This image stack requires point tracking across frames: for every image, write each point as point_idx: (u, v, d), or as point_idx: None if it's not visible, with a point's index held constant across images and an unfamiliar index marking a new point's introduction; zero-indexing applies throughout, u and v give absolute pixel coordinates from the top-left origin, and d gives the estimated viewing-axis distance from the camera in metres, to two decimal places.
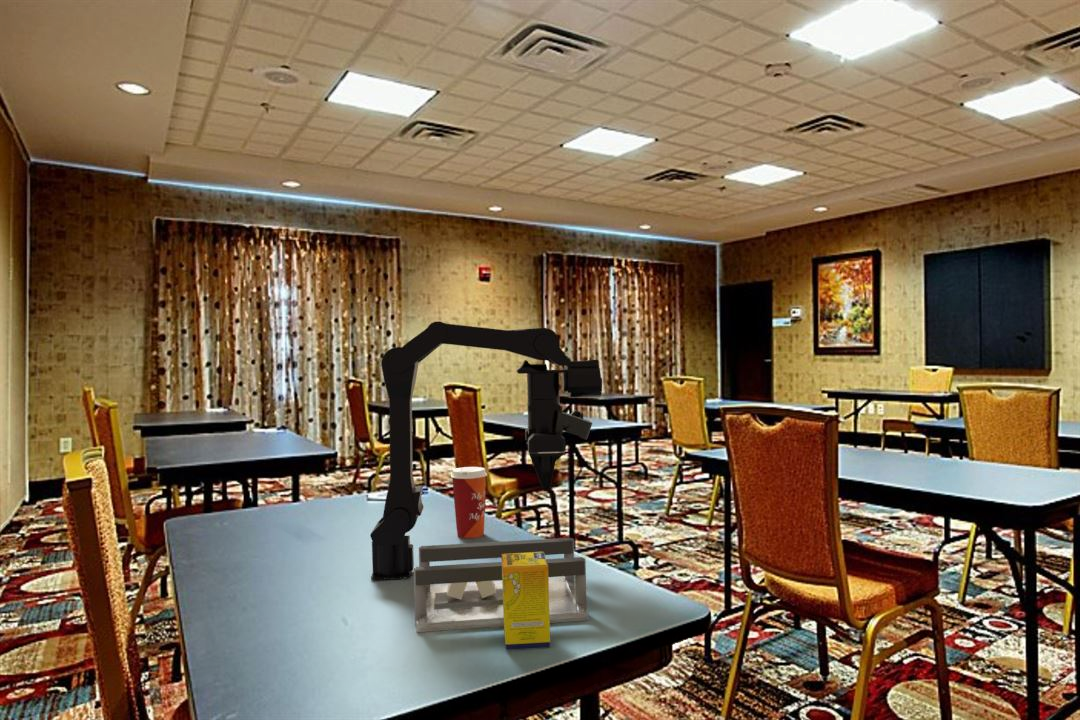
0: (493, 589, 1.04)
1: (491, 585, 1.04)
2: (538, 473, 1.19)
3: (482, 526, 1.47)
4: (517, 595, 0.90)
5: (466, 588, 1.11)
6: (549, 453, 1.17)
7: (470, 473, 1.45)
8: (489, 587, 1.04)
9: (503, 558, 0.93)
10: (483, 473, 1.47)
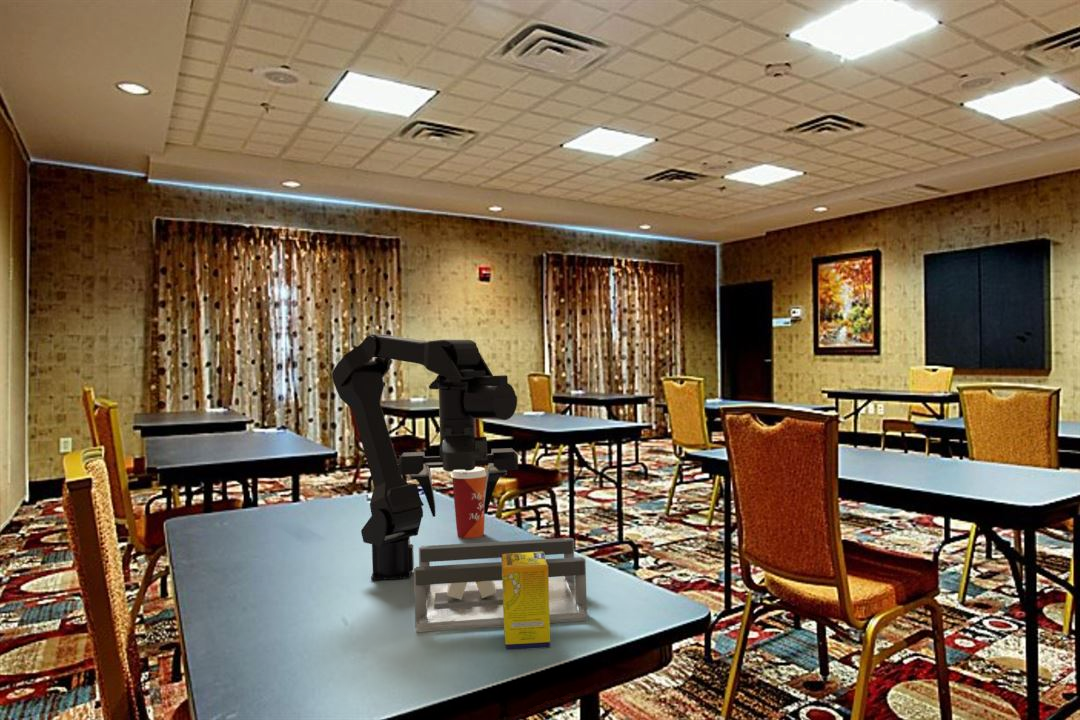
0: (493, 589, 1.04)
1: (491, 585, 1.04)
2: None
3: (482, 526, 1.47)
4: (517, 595, 0.90)
5: (466, 588, 1.11)
6: None
7: (470, 473, 1.45)
8: (489, 587, 1.04)
9: (503, 558, 0.93)
10: (483, 473, 1.47)
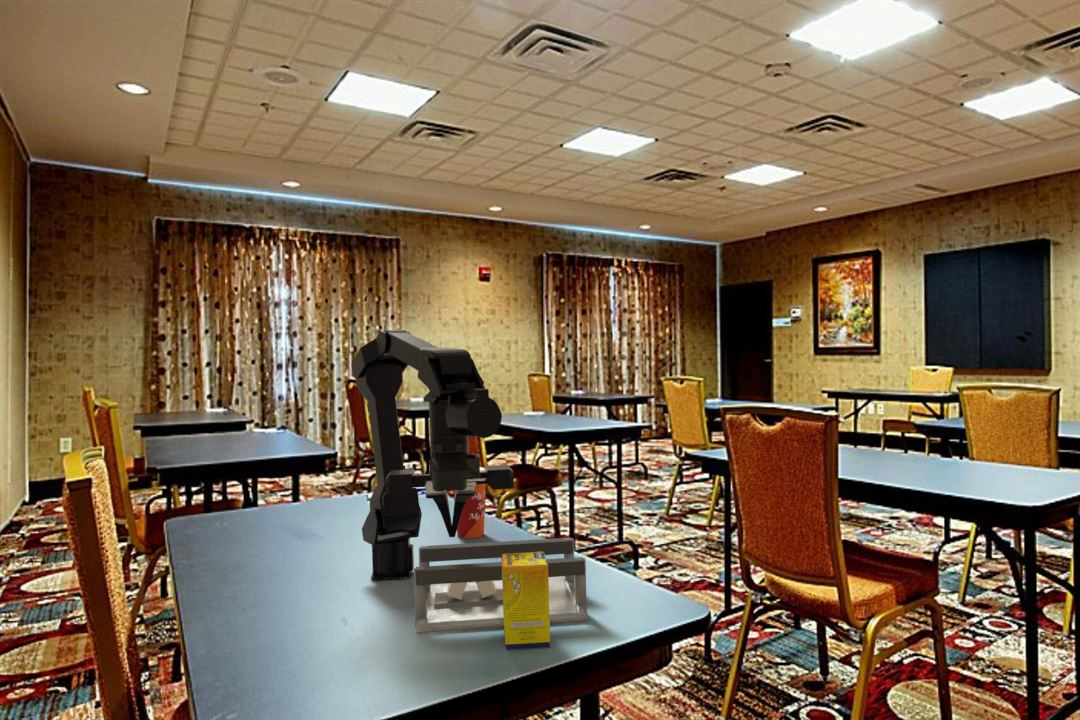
0: (493, 589, 1.04)
1: (491, 585, 1.04)
2: None
3: (482, 526, 1.47)
4: (517, 594, 0.90)
5: (466, 588, 1.11)
6: (426, 492, 1.04)
7: None
8: (489, 587, 1.04)
9: (503, 558, 0.93)
10: None
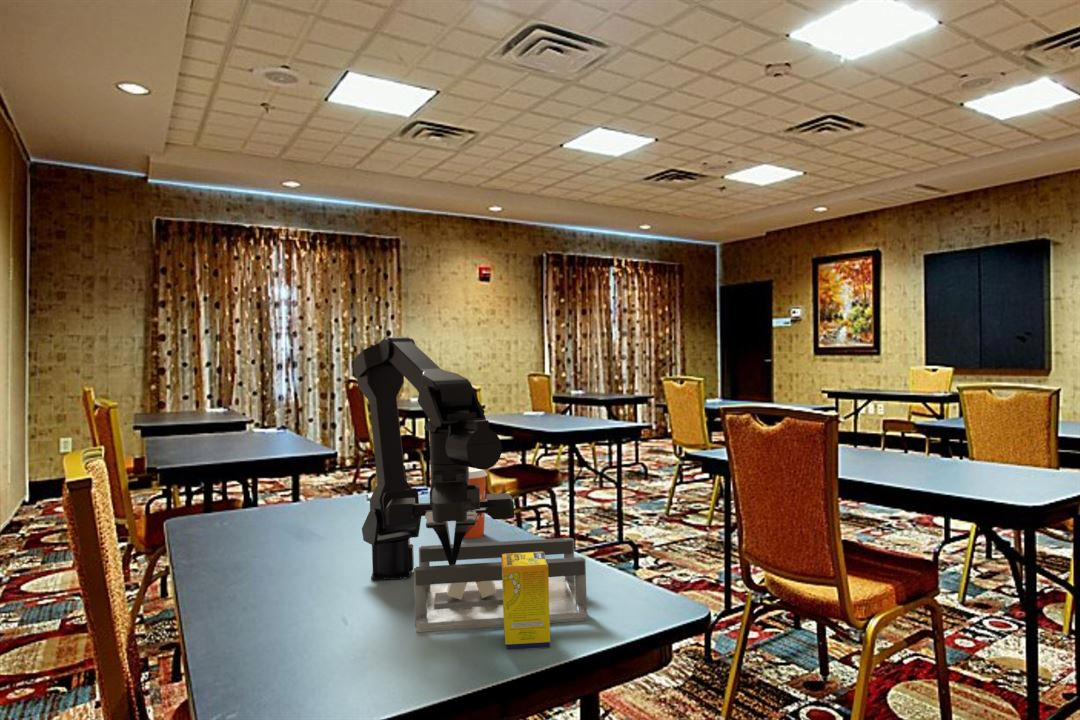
0: (493, 589, 1.04)
1: (491, 585, 1.04)
2: None
3: (482, 526, 1.47)
4: (517, 595, 0.90)
5: (466, 588, 1.11)
6: (426, 521, 1.04)
7: (470, 473, 1.45)
8: (489, 587, 1.04)
9: (503, 558, 0.93)
10: (483, 473, 1.47)
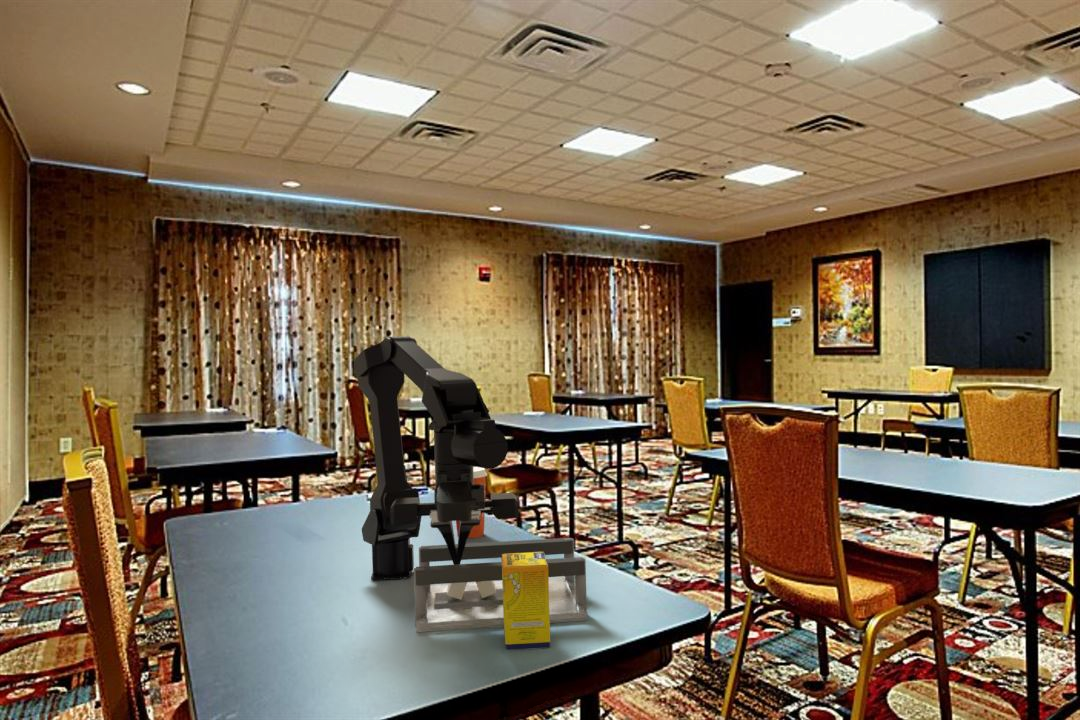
0: (493, 589, 1.04)
1: (491, 585, 1.04)
2: None
3: (482, 526, 1.47)
4: (517, 594, 0.90)
5: (466, 588, 1.11)
6: None
7: None
8: (489, 587, 1.04)
9: (503, 558, 0.93)
10: (483, 473, 1.47)
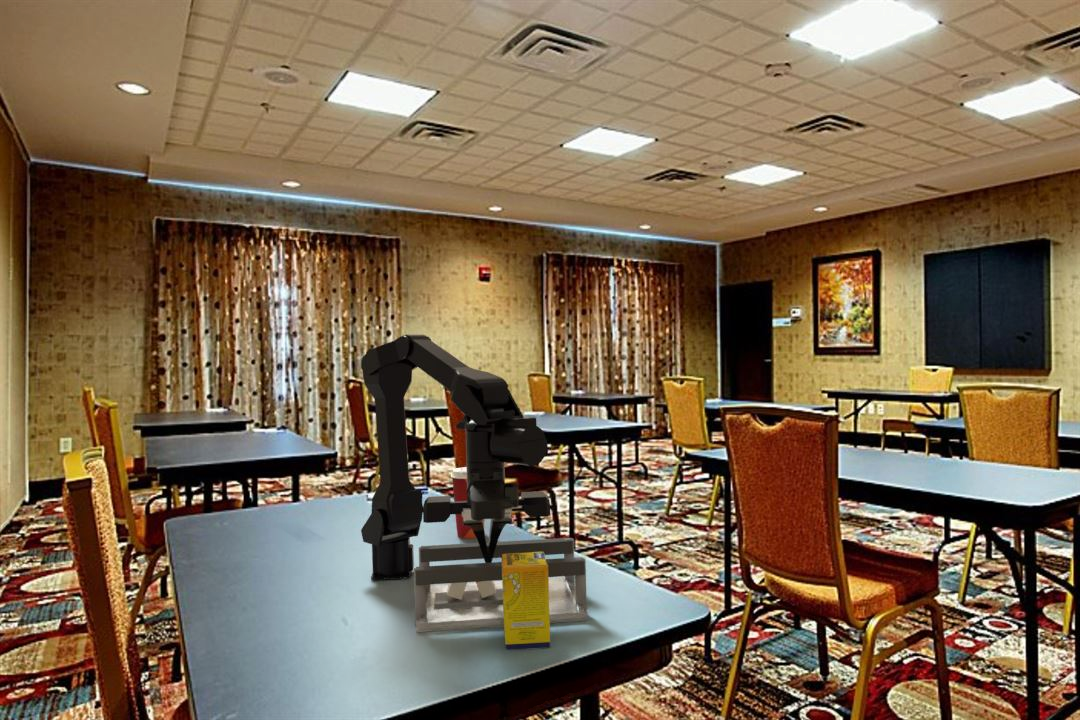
0: (493, 589, 1.04)
1: (491, 585, 1.04)
2: None
3: None
4: (517, 595, 0.90)
5: (466, 588, 1.11)
6: (463, 519, 1.05)
7: None
8: (489, 587, 1.04)
9: (503, 558, 0.93)
10: None
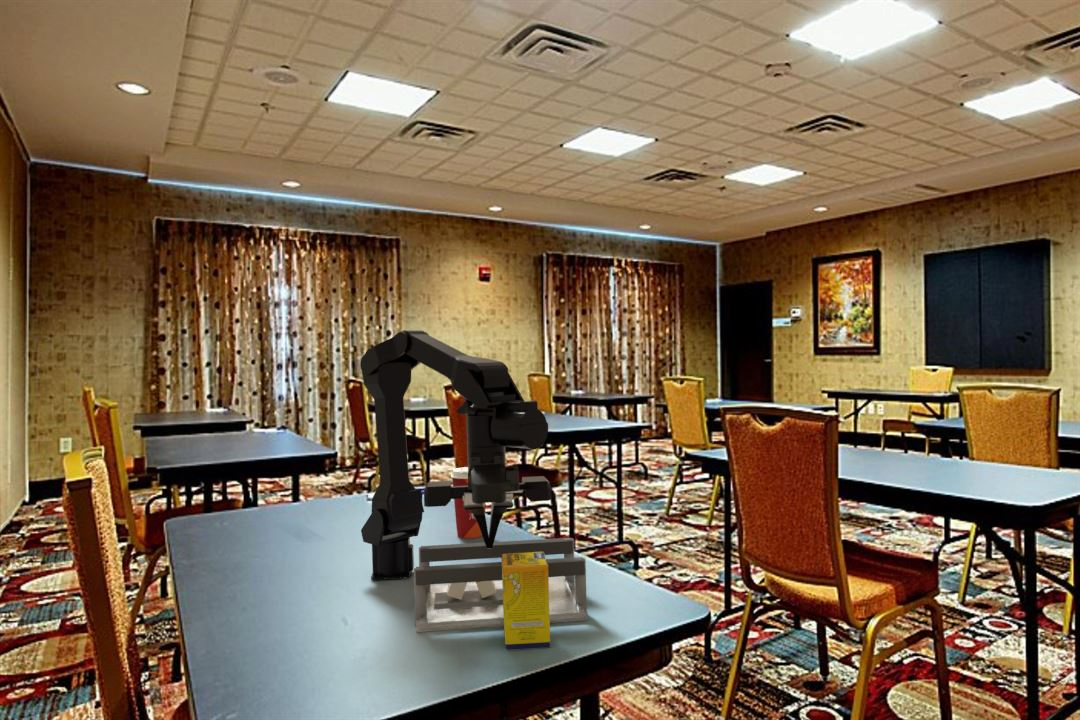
0: (493, 589, 1.04)
1: (491, 585, 1.04)
2: None
3: None
4: (517, 594, 0.90)
5: (466, 588, 1.11)
6: None
7: None
8: (489, 587, 1.04)
9: (503, 558, 0.93)
10: None
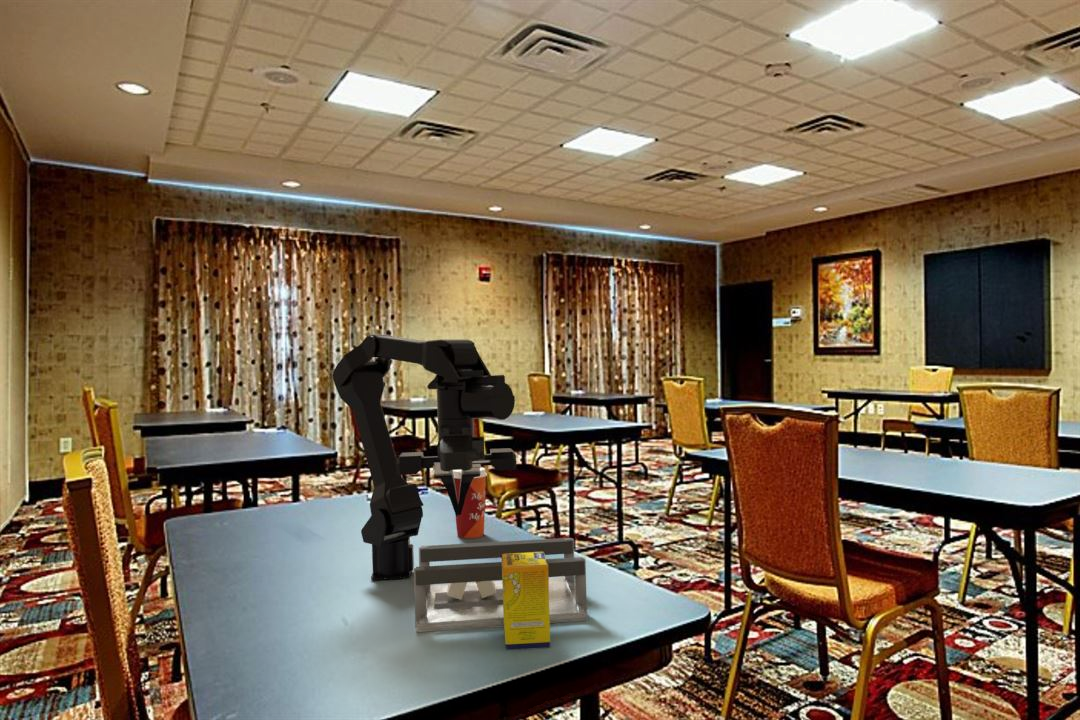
0: (493, 589, 1.04)
1: (491, 585, 1.04)
2: None
3: (482, 526, 1.47)
4: (517, 594, 0.90)
5: (466, 588, 1.11)
6: (434, 473, 1.11)
7: None
8: (489, 587, 1.04)
9: (503, 558, 0.93)
10: (483, 473, 1.47)
